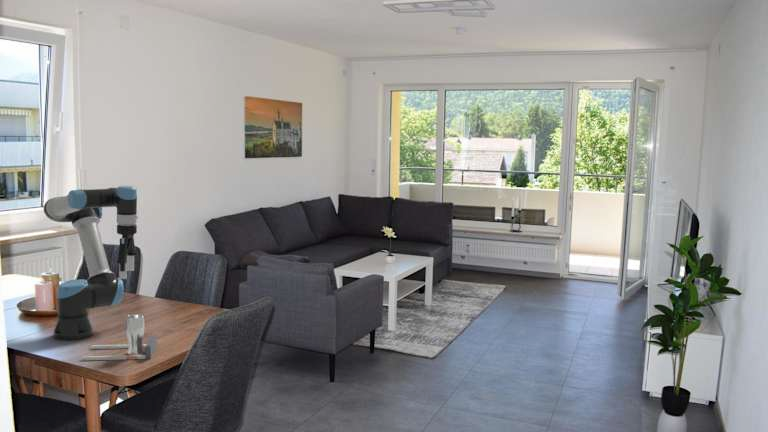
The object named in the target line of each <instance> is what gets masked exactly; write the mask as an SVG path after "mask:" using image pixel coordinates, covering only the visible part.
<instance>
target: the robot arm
mask: <svg viewBox="0 0 768 432" xmlns="http://www.w3.org/2000/svg"><path fill="white" fill-rule="evenodd" d="M137 202H138V194H137V188H136V186H132V185H121V186H117V187H108V188H98V189H93V188H92V189H80V188H79V189H71V190H70V191H69V192H68V194H67V195H65V196H55V197H52V198H49V199H48V200H47V201H46V202H45V204H43V205H44V206H43V213H44V214H45V216H46V217H47V219H49V220H51V221H54V222H56V223H57V222H58V223H71V225H72V227H73V228H74V229H76V230H77V232H78V236H79V240H80V241H79V242H80V244H81V248H82V252H83V256H84V260H85V262H86V266H87V270H88V275H89V277H88V278H87V280H86V279H84V278H79V279H71V280H67V281H64V282H61V283H60V284H59V285H58V286H57V289H56V290H57V291H56V299H57V301H56V302H57V305H56V306H57V320H56V324H55V326H54V330H53V338H54V339H55V340H59V341H77V340H81V339H82V340H83V339H86V338H88V337H91V336H92V335H93V334H94V331H93V329H94V328H93V326H92V323H91V321H90V318H89V310H92V309H98V308H103V307H110V306H115V305H116V306H117V305H119V304H120V303H121V302H122V300H123V297H124V287H125V286H124V282H123V280H128V279H127V277H128V274H127V272H130V271H131V272H134V271H135V256H137V252H136V248H135V247H136V246H135V239H134V237H135V236H134V235H135V234H137V231H138V230H137V228H138V227H137V221H138V220H137V219H139V216H137V213H138V212H137V207H138V206H137V205H138V204H137ZM114 207H115V208H116V223H117V224H116V234H118V235H121V238H119V247H118V257H117V261H116V264H118V268H119V269H118V277H116V274H115V272H113V271H111V269H110V266H109V262H108V258H107V253H106V251H105V246H104V243H103V240H102V237H101V233H100V232H101V231H100V230H99V226H98V225H99V223H100V221H101V219H102V217H103V208H114Z"/></svg>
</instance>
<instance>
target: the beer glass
mask: <svg viewBox="0 0 768 432" xmlns="http://www.w3.org/2000/svg"><path fill="white" fill-rule="evenodd" d="M144 317H145V315H143V314H139V313H137V314H136V313H135V314H134V313H133V314H129V315H126V317H125V318H126V319H125V334H126V338H127V344H128V348H127V351H126V352H127V354H126V355H143V354H144V352H145V351H144V348H143V345H142V344H143V341H144V335H145V318H144Z"/></svg>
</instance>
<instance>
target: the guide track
mask: <svg viewBox="0 0 768 432" xmlns="http://www.w3.org/2000/svg"><path fill="white" fill-rule="evenodd" d="M157 336H158V335H157V334H151V335H150V337H149V339H148V340H147V343H142V345H143V349H144V350H145V351H144V352H145V353H144V354H140V355H128V354H126V355H125V354H123V355H92V356H90V355H89V356H87V355H86V356H82V358H81V359H82V362H83V361H107V360H108V361H110V360H112V361H113V360H114V361H115V360H149V359H152V357H153V355H154V353H155V350H156V349H157V347H158V341H157V339H158V338H157ZM90 347H91V350H110V349H113V350H116V349H128V343H127V344H94V345H93V344H92V345H91V346H90Z"/></svg>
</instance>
